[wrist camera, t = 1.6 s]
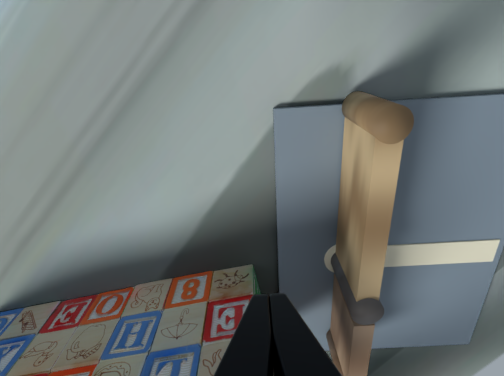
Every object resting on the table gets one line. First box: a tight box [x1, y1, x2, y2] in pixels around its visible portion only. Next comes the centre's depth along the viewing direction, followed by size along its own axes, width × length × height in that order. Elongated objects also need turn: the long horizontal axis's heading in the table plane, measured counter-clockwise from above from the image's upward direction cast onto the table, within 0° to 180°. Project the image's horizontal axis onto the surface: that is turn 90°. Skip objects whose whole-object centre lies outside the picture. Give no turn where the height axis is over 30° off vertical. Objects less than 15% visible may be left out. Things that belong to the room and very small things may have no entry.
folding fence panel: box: [331, 91, 414, 325], centre depth 16 cm, size 12×2×5 cm, turn 3°
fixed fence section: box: [326, 274, 375, 376], centre depth 20 cm, size 7×2×5 cm, turn 3°
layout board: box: [273, 93, 504, 351], centre depth 20 cm, size 20×16×1 cm
